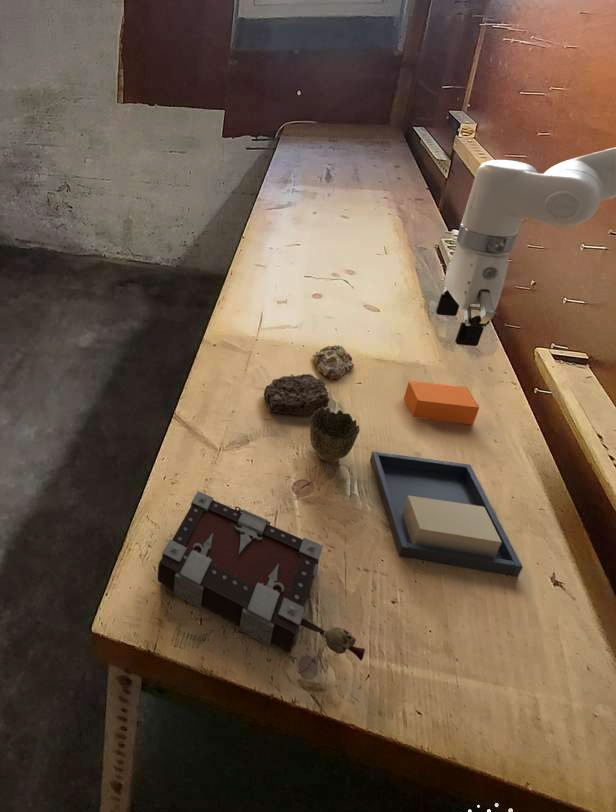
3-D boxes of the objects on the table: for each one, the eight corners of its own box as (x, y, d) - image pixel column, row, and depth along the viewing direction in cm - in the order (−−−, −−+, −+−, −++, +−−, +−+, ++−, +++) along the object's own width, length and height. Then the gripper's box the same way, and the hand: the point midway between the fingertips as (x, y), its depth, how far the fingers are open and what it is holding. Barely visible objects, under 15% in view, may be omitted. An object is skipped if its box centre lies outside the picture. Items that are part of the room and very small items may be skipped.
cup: (351, 449, 98) (360, 413, 94) (350, 479, 92) (359, 442, 88) (305, 438, 101) (312, 402, 97) (302, 466, 95) (309, 430, 91)
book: (196, 511, 87) (198, 487, 85) (373, 592, 75) (381, 567, 72) (155, 587, 76) (156, 562, 74) (353, 696, 64) (362, 670, 62)
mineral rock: (314, 339, 125) (354, 339, 120) (317, 356, 126) (356, 356, 122) (307, 366, 116) (349, 368, 112) (310, 384, 118) (352, 386, 113)
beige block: (476, 525, 83) (484, 506, 81) (493, 561, 77) (501, 542, 76) (401, 514, 85) (408, 495, 83) (413, 548, 80) (420, 529, 78)
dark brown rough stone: (323, 392, 112) (328, 371, 110) (327, 425, 103) (332, 403, 101) (263, 382, 115) (266, 362, 113) (262, 414, 107) (266, 393, 104)
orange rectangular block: (461, 403, 108) (467, 387, 106) (473, 424, 102) (479, 407, 101) (403, 397, 110) (408, 380, 108) (412, 417, 105) (417, 400, 103)
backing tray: (465, 476, 92) (470, 464, 91) (516, 579, 76) (522, 567, 75) (368, 462, 95) (372, 451, 94) (398, 559, 79) (402, 546, 78)
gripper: (538, 263, 82) (501, 360, 89) (489, 220, 97) (461, 306, 104) (480, 259, 83) (448, 354, 91) (441, 218, 98) (416, 302, 106)
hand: (455, 328), depth 98 cm, fingers open, 9 cm apart
